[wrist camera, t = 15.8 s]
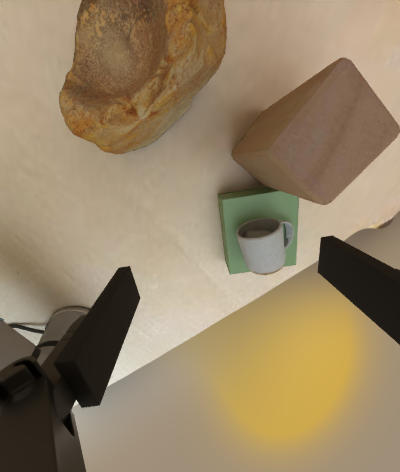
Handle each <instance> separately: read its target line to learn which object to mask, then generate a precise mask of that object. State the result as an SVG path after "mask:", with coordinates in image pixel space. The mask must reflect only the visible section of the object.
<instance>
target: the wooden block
mask: <svg viewBox="0 0 400 472" xmlns="http://www.w3.org/2000/svg"><path fill="white" fill-rule="evenodd" d="M399 132H400V128H399V125H398V124H397V122H396V121H395V120H394V118H393V117H392V115H391V114H390V113H389V111H388V110H387V109H386V107H385V106H384V105H383V103H382V102H381V101H380V99H379V98H378V97H377V95H376V94H375V92H374V91H373V90H372V88H371V87H370V86H369V84H368V83H367V82H366V80H365V79H364V78H363V76H362V75H361V73H360V72H359V71H358V69H357V68H356V67H355V65H354V64H353V63H352V61H351V60H349V59H347V58H340V59H338V60H337V61H335V62H333V63H332V64H330V65H329V66H327V67H326V68H325V69H323V70H322V71H320V72H319V73H317V74H316V75H315V76H313V77H312V78H310V79H309V80H307V81H306V82H305V83H303V84H302V85H300V86H299V87H298V88H296V89H295V90H293V91H292V92H290V93H289V94H288V95H286V96H285V97H283V98H282V99H280V100H279V101H278V102H276V103H275V104H273V105H272V106H270V107H269V108H268V109H266V110H265V111H263V112H262V113H261V115H260V116H259V117H258V119H257V120H256V121H255V123H254V124H253V125H252V126H251V128H250V129H249V130H248V132H247V133H246V134H245V136H244V137H243V138H242V140H241V141H240V142H239V143H238V145H237V146H236V147H235V149H234V150H233V152H232V157H233V159H234V160H235V161H236V162H237V163H239V164H240V165H241V166H242V167H243V168H244V169H245V170H246V171H248V172H249V173H250V174H251V175H252V176H253V177H254V178H255V179H256V180H258V181H259V182H260V183H261V184H262V185H264V186H267V187H270V188H273V189H276V190H279V191H282V192H285V193H288V194H291V195H294V196H297V197H300V198H303V199H306V200H309V201H312V202H314V203H318V204H321V205H327V204H328V203H330V202H332V201H333V200H334V199H335V198H336V197H337V196H338V195H339V194H340V193H341V192H342V191H343V190H344V189H345V188H346V187H347V186H348V185H349V184H350V183H351V182H352V181H353V180H354V179H355V178H356V177H357V176H358V175H359V174H360V173H361V172H362V171H363V170H364V169H365V168H366V167H367V166H368V165H369V164H370V163H371V162H372V161H373V160H374V159H375V158H376V157H378V156H379V155H380V154H381V153H382V152H383V151H384V150H385V149H386V148H387V147H388V146H389V145H390V144H391V143H392V142H393V141H394V140H395V139H396V138H397V136H398V134H399Z"/></svg>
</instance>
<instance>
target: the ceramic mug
mask: <svg viewBox="0 0 400 472" xmlns="http://www.w3.org/2000/svg"><path fill="white" fill-rule="evenodd" d="M283 223H284V224H285V227H286V237H285V240H284V236H283V227H282V224H283ZM293 235H294V230H293V226H292V224H291V223H290V222H288V221H284V220H277V219H274V218H259V219H254V220H251V221H248V222H246V223H244V224H242V225H241V226H239V227H238V229H237V231H236V236H237V239H238V242H239V245H240V249H241V252H242V255H243V258H244V262H245V264H246V266H247V268H248V269H249V270H250V271H251V272H253V273H256V274H260V275H268V274H272V273H275V272H277V271H279V270H280V269H281V268H282V267H283V266H284V264H285V258H286V253H285V249H286V248H287V247H288V246H289V245H290V244H291V242H292V239H293Z"/></svg>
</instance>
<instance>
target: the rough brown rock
mask: <svg viewBox="0 0 400 472" xmlns="http://www.w3.org/2000/svg"><path fill="white" fill-rule="evenodd" d="M226 31H227V27H226V14H225V8H224V0H82V2H81V5H80V8H79V11H78V15H77V26H76V34H75V53H74V59H73V66H72V68H71V70H70V71H69V72H68V73H67V75H66V80H65V83H64V86H63V88H62V91H61V92H60V96H59V104H60V108H61V112H62V114H63V117H64V119H65V123H66V125H67V127H68V128H69V129H70V131H71V132H72V133H73V134H74V135H76V136H78V137H80V138H83V139H85V140H87V141H90V142H93V143H95V144H96V145H97V146H98V147H99V148H100V149H101V150H103V151H105V152H109V153H114V154H123V153H126V152H129V151H135V150H137V149H139V148H141V147H145V146H147V145H149V144H151V143H152V142H154V141H155V140H157V139H158V138H159V137H160V136H161V135H162V134H163V133H164V132H165V131H166V130H167V129H168V128H169V127H170V126H172V125H173V124H174V123H175V122H176V121H177V120H178V119H179V118H180V117H181V116H182V115H183V114H184V113H185V112H186V111H187V110H188V109H189V107H190V105H191V100H192V98H193V96H194V95H195V94H196V93H197V92H198V91H199V90H200V89H201V88H202V87H203V86H204V85H205V84H206V83H207V82H208V81H209V79H210V78H211V77H212V76H213V75H214V74H215V72H216V71H217V70H218V68H219V66H220V64H221V61H222V59H223V57H224V54H225V48H226Z"/></svg>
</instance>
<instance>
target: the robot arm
mask: <svg viewBox="0 0 400 472" xmlns="http://www.w3.org/2000/svg"><path fill="white" fill-rule="evenodd" d="M318 273H319V274H321V275H322V276H323V277H324V278H325V279H326V280H327V281H328V282H330V283H331V284H332V285H333V286H334V287H335V288H336V289H337V290H339V291H340V292H341V293H342V294H343V295H345V297H346V298H348V299H349V300H350V301H351V302H352V303H353V304H354V305H355V306H357V307H358V308H359V309H360V310H361V311H362V312H363V313H365V314H366V315H367V316H368V317H369V318H370V319H371V320H372V321H374V322H375V323H376V324H377V325H378V326H379V327H380V328H381V329H383V330H384V331H385V332H386V333H387V334H388V335H389V336H390V337H392V338H393V339H394V340H395V341H396V342H397V343H398V344H399V345H400V270H398V269H394V268H392V267H390V266H388V265H387V264H385V263H382V262H381V261H379V260H377V259H375V258H373V257H372V256H369V255H368V254H366V253H364V252H362V251H360V250H358V249H356V248H355V247H353V246H351V245H349V244H347V243H345V242H343V241H342V240H340V239H338V238H336V237H334V236H327V237H321V243H320V254H319V264H318ZM139 300H140V296H139V293H138V289H137V286H136V283H135V280H134V277H133V274H132V271H131V268H130V266H128V267H121V268H118V270H117V271H116V273H115V274H114V276H113V277H112V279H111V280H110V281H109V283H108V284H107V286H106V287H105V289H104V290H103V292H102V293H101V294H100V296H99V297H98V299H97V300H96V302H95V303H94V305H93V306H92V308H91V309H88V308H85V307H78V306H71V307H66V308H63V309H60V310H59V311H57V312H56V313H55V314H54V315H53V316H52V317H51V318H50V320H49V321H48V323H47V325H46V328H45V331H44V330H38V329H33V328H29V327H25V326H21V325H8V324H6V323H5V322H4V321H3V319H2V318H0V472H86V469H85V464H84V460H83V455H82V450H81V446H80V441H79V436H78V432H77V427H76V423H75V418H74V414H73V413H72V411H71V409H72V407H73V405H74V403H75V401H76V400H77V401H78V403H79V404H80V406H81V407H82V408H83V407H91V406H98V405H100V403H101V400H102V398H103V395H104V393H105V390H106V387H107V385H108V382H109V379H110V377H111V374H112V372H113V369H114V366H115V364H116V361H117V358H118V356H119V353H120V350H121V348H122V345H123V343H124V340H125V337H126V335H127V332H128V329H129V327H130V324H131V322H132V319H133V316H134V314H135V311H136V308H137V306H138V303H139ZM13 328H19V329H23V330H26V331H31V332H36V333H41V334H43V335H42V337H41V339H40V341H39V344H38V345H37V346H35V345H34V344H33V343H31V342H30V341H29V340H28V339H26V338H25V337H24V336H22V335H21V334H20V333H18V332H17V331H16V330H14V329H13Z"/></svg>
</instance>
